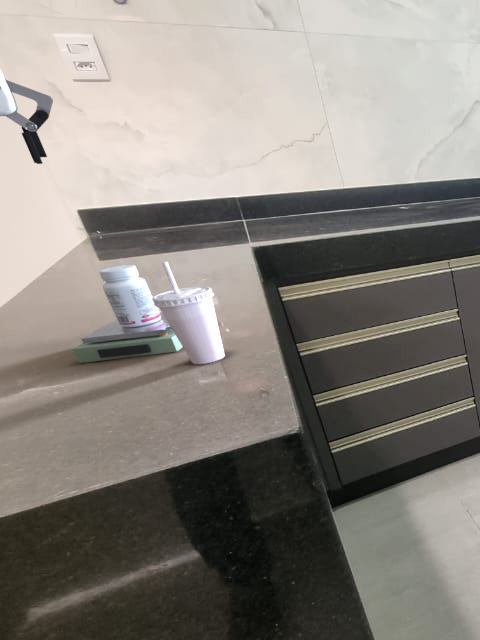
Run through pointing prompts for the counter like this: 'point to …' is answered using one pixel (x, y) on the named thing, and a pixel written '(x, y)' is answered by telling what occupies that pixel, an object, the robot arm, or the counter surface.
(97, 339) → the pan
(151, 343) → the scale
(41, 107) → the robot arm
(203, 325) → the smoothie
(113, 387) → the counter surface
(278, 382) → the counter surface
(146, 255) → the counter surface
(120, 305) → the pill bottle
